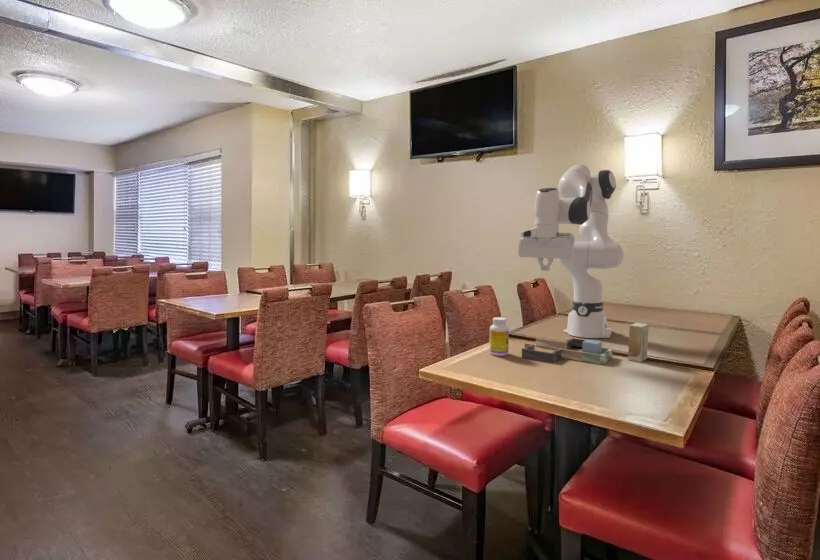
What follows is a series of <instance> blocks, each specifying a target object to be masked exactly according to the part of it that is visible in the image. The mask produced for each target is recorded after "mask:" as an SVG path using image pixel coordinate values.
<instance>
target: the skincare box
mask: <svg viewBox="0 0 820 560" xmlns="http://www.w3.org/2000/svg"><path fill="white" fill-rule="evenodd" d="M649 326H650V324H649V323H641V322H634V323H632V324H630V325H629V327H628V328H629V330H628V331H629V333H628V335H629V336H628V348H627V349H628V351H627V352H628V353H627V360H628V361H632V362H636V363H637V362H638V363H641V362H644V361H645V360H647V359H648V347H649V346H648V345H649Z"/></svg>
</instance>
